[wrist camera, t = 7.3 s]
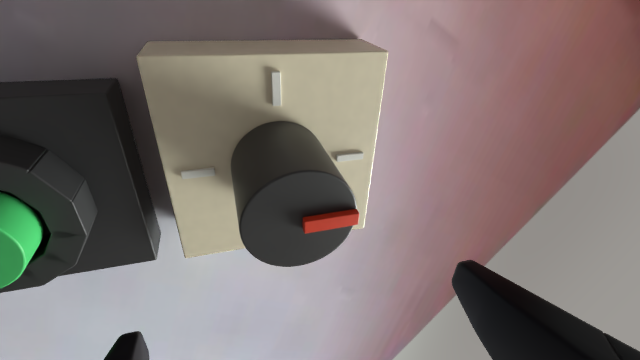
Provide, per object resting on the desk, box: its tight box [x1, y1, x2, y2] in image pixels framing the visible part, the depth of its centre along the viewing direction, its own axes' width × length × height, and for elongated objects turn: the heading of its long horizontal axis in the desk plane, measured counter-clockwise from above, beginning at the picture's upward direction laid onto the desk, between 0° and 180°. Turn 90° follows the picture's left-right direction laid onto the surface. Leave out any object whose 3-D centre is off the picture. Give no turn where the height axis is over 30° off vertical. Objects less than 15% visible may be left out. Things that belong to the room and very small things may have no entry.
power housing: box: [0, 78, 161, 293], centre depth 14 cm, size 10×9×4 cm
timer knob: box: [231, 121, 360, 267], centre depth 14 cm, size 4×4×5 cm
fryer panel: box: [136, 39, 388, 258], centre depth 17 cm, size 10×10×3 cm
